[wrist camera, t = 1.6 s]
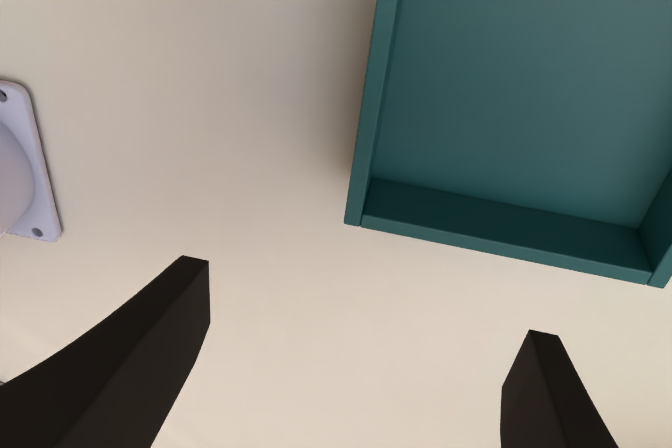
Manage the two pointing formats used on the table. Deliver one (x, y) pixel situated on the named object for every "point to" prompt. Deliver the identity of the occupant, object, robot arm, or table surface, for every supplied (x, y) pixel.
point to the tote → (522, 131)
